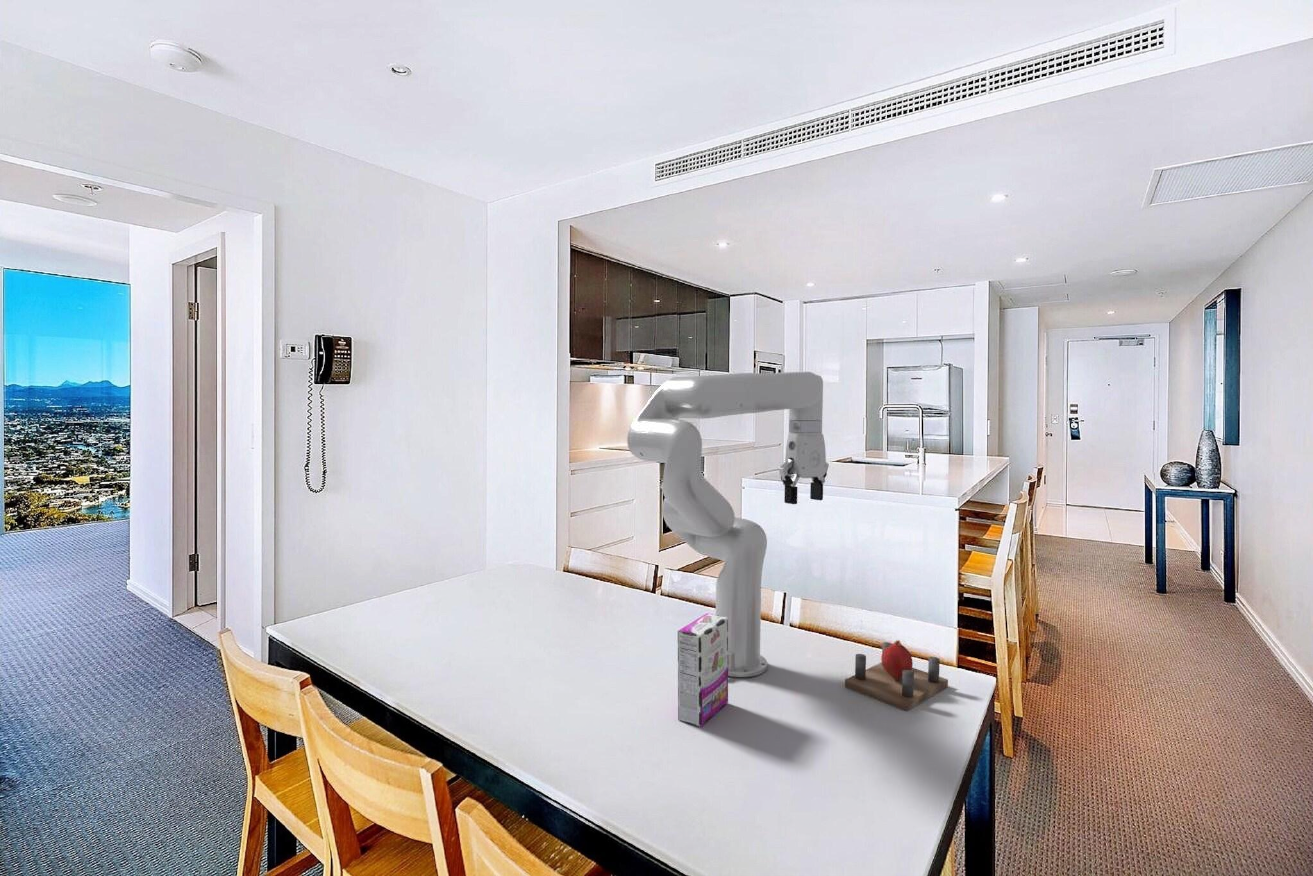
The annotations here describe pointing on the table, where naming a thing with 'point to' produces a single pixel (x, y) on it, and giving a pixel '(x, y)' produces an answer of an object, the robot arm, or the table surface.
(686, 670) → the candy bar box
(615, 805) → the table surface
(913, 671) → the peg holder
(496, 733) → the table surface
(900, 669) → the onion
